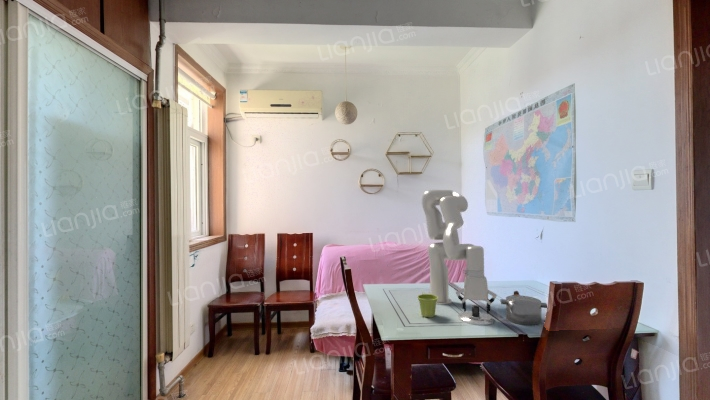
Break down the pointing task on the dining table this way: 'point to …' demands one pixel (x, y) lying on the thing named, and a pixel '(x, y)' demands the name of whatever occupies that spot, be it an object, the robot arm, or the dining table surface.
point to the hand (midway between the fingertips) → (476, 311)
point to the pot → (523, 310)
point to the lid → (476, 317)
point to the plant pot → (427, 304)
